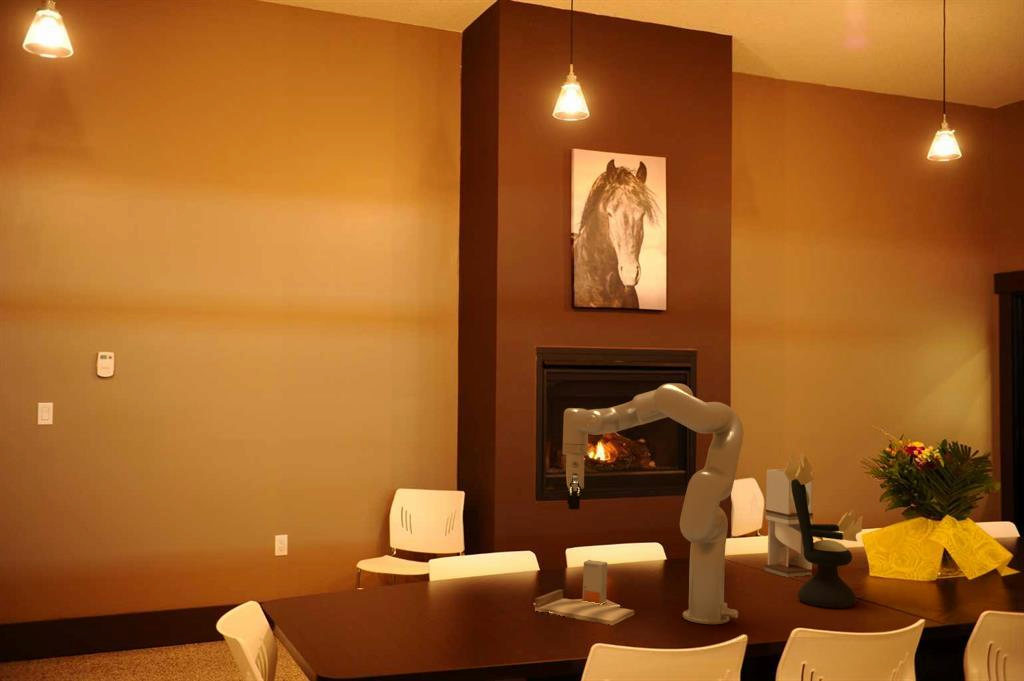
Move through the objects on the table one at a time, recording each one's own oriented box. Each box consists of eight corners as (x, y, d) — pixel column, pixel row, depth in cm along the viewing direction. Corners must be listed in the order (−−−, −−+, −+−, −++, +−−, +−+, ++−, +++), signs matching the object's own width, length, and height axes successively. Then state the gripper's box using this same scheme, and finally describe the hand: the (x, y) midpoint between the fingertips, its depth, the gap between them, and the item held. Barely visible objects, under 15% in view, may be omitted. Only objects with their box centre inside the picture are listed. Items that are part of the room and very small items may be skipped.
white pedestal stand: (764, 570, 335) (766, 469, 336) (788, 568, 339) (790, 468, 340) (787, 577, 325) (789, 473, 326) (811, 575, 329) (813, 472, 330)
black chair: (863, 613, 279) (866, 456, 280) (784, 607, 283) (786, 453, 284) (854, 598, 297) (856, 451, 298) (779, 592, 302) (782, 448, 303)
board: (634, 614, 270) (634, 601, 270) (612, 625, 258) (612, 611, 258) (559, 601, 282) (559, 589, 283) (534, 611, 271) (535, 598, 271)
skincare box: (581, 603, 281) (582, 561, 282) (587, 600, 285) (588, 559, 286) (601, 606, 279) (602, 564, 279) (606, 603, 282) (607, 561, 283)
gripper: (589, 452, 281) (587, 511, 280) (586, 447, 298) (584, 503, 298) (563, 451, 281) (561, 510, 281) (561, 446, 298) (559, 502, 298)
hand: (573, 506), depth 289 cm, fingers open, 9 cm apart
